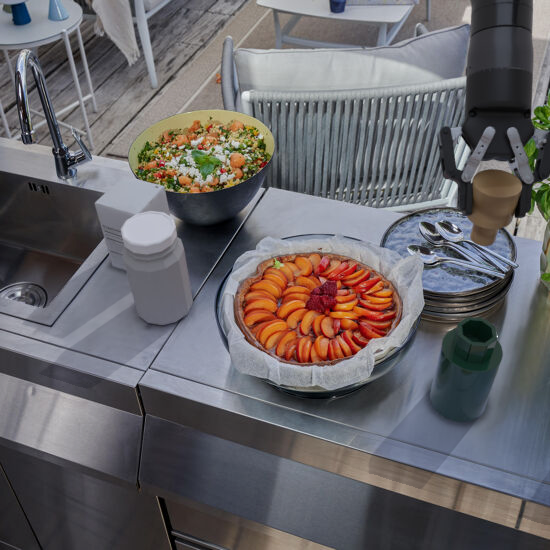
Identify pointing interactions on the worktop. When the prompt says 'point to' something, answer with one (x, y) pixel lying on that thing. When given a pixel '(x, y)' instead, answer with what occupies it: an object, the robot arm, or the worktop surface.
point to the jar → (156, 268)
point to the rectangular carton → (126, 210)
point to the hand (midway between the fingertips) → (493, 215)
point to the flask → (466, 370)
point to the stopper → (492, 204)
